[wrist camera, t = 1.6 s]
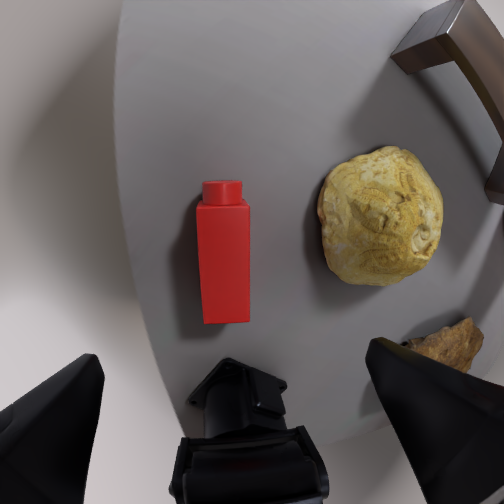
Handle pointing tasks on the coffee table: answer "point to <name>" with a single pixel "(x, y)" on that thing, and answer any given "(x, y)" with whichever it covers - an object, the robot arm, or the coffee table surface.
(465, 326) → the decorative rock
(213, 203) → the red square bottle
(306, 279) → the coffee table surface
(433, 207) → the fossil
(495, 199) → the shelf
